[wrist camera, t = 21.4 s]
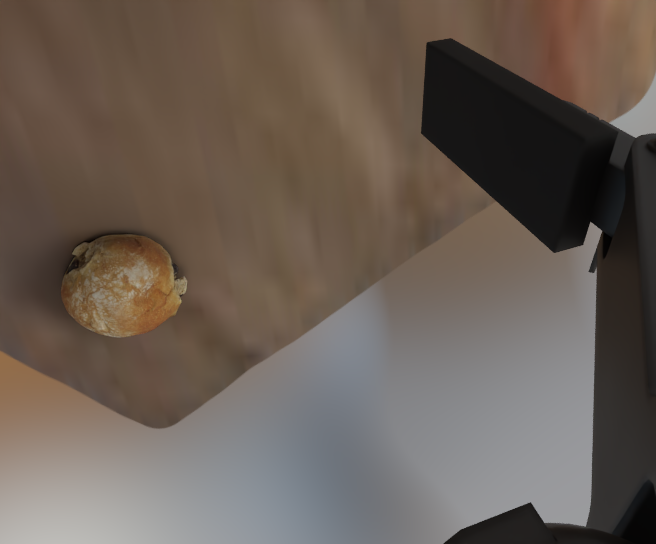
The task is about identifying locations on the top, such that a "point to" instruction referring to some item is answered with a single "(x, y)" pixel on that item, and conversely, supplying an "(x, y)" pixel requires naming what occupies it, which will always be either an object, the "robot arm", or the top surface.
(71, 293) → the bread roll
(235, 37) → the top surface
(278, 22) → the top surface
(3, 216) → the top surface
